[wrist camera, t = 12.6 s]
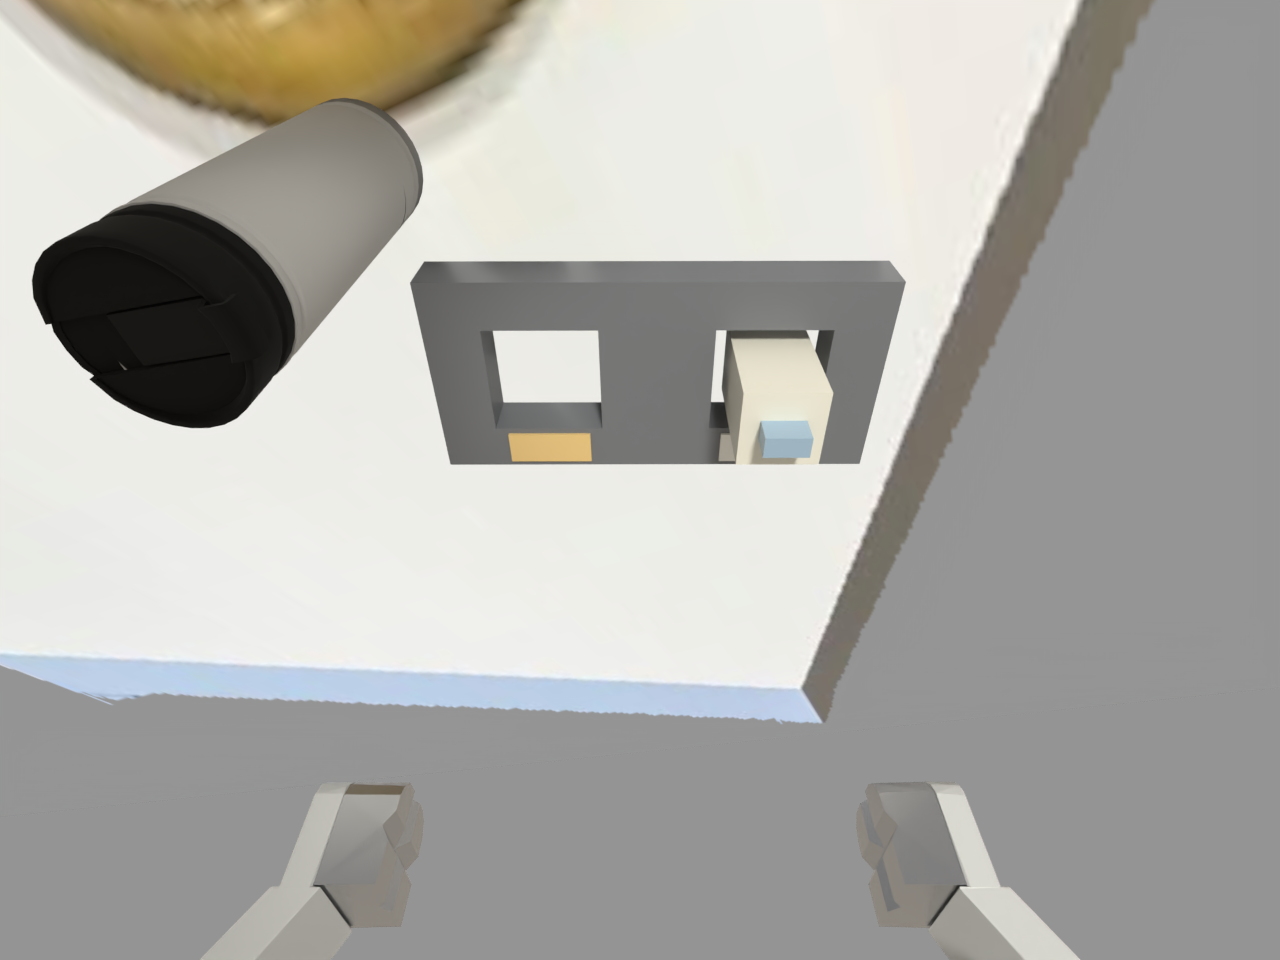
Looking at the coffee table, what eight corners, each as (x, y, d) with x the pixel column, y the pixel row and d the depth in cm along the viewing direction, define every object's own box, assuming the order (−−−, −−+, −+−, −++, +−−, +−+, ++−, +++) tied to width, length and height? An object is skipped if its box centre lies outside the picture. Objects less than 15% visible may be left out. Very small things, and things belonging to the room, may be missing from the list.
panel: (424, 261, 38) (408, 284, 35) (889, 260, 38) (907, 283, 35) (460, 437, 45) (449, 466, 43) (848, 436, 45) (860, 465, 43)
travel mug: (448, 214, 36) (303, 424, 20) (334, 237, 37) (109, 457, 21) (401, 82, 32) (177, 217, 17) (274, 111, 33) (-54, 265, 17)
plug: (727, 322, 40) (747, 410, 32) (803, 322, 40) (841, 410, 32) (721, 388, 43) (739, 483, 35) (792, 388, 43) (824, 483, 35)
